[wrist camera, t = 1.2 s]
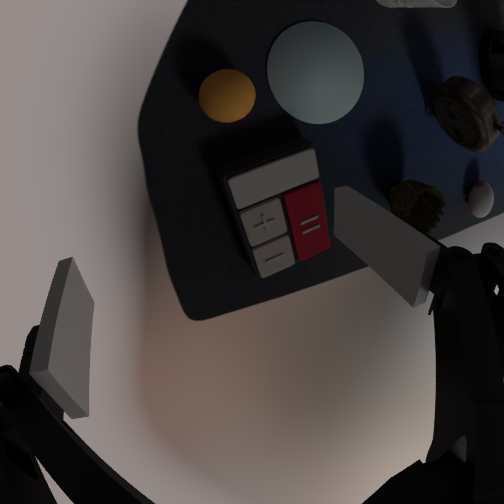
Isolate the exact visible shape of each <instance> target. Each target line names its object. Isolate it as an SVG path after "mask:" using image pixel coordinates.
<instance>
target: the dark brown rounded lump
mask: <svg viewBox="0 0 504 504" xmlns="http://www.w3.org/2000/svg"><path fill="white" fill-rule="evenodd" d="M443 197H444V194H443V193H441V192H439V191H438V188H436V187H433V186H430V185H427V184H424V183H421V182H418V181H413V180H406V181H403V182H401V183H393V184H391V185H390V186H389V188H388V189H387V192H386V199H387V201H388V203H389V204H390V209H391V212H392V214H393V215H395V216H396V217H398V218H399V219H401V220H404V221H407V222H409V223H412V224H414V225H415V226H417V227H418V228H420V229H421V231H422V230H423V231H424V232H427V233H429V234H431V231H430V229H429V228H436V227H437V225H436V223H439V222H440V218H439V216H438V215H437V214H440V215H443V212H442V210H441V208H442V207H444V206H445V205H446V203H445V201H444V199H443Z"/></svg>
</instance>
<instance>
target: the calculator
mask: <svg viewBox="0 0 504 504" xmlns="http://www.w3.org/2000/svg"><path fill="white" fill-rule="evenodd" d="M215 171H216V174H217V177H218V180H219V182H220V185H221V188H222V191H223V193H224V196H225V199H226V201H227V204H228V206H229V209H230V212H231V215H232V218H233V220H234V223H235V226H236V229H237V231H238V234H239V237H240V240H241V243H242V245H243V248H244V251H245V254H246V256H247V259H248V262H249V264H250V267H251V269H252V271H253V272H254V274H255V276H256V278H257V279H262V278H265V277H267V276H269V275H271V274H274V273H276V272H278V271H280V270H283V269H285V268H287V267H289V266H291V265H293V264H295V263H297V262H299V261H302V260H304V259H307V258H309V257H311V256H313V255H315V254H317V253H320V252H322V251H324V250H326V249H328V248H330V246H331V237H330V230H329V222H328V216H327V209H326V202H325V196H324V189H323V183H322V177H321V172H320V166H319V160H318V155H317V149H316V145H315V144H314V143H313V142H311V141H309V140H307V139H305V138H303V137H301V136H298V137H295V138H292V139H289V140H286V141H283V142H280V143H277V144H274V145H272V146H269V147H266V148H263V149H260V150H258V151H255V152H252V153H250V154H247V155H244V156H242V157H239V158H236V159H234V160H231V161H229V162H226V163H223V164H221V165H219V166H217V167H216V168H215Z"/></svg>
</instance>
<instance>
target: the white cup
mask: <svg viewBox="0 0 504 504" xmlns="http://www.w3.org/2000/svg"><path fill="white" fill-rule="evenodd" d="M376 1H377V2H378V3H379V4H380V5H383V6H386V7H388V8H394V7H406V8H450V7H453V6H454V5H455V4H456V2H457V0H376Z"/></svg>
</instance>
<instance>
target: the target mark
mask: <svg viewBox="0 0 504 504" xmlns="http://www.w3.org/2000/svg"><path fill="white" fill-rule="evenodd" d="M267 78H268V82H269V86H270V89H271V91H272V93H273V95H274V97H275V99H276V100H277V102H278V103H279V104H280V106H281V107H282V108H283V109H284V110H285V111H286V112H288V113H289V114H290V115H292V116H293V117H295V118H297V119H299V120H301V121H304V122H307V123H313V124H325V123H330V122H333V121H336V120H338V119H340V118H341V117H343V116H344V115H346V114H347V113H348V112H349V111H350V110H351V109H352V108H353V107H354V105H355V104H356V102H357V101H358V99H359V97H360V94H361V91H362V88H363V83H364V69H363V63H362V59H361V56H360V54H359V51H358V50H357V48H356V46H355V45H354V43H353V42H352V40H351V39H350V38H349V37H348V36H347V35H346V34H345V33H343V32H342V31H341V30H339V29H338V28H336V27H334V26H332V25H330V24H327V23H323V22H317V21H308V22H302V23H298V24H296V25H293V26H291V27H289V28H288V29H286V30H285V31H284V32H282V33H281V34H280V35H279V37H278V38H277V39H276V40H275V42H274V43H273V45H272V47H271V49H270V52H269V56H268V61H267Z"/></svg>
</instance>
